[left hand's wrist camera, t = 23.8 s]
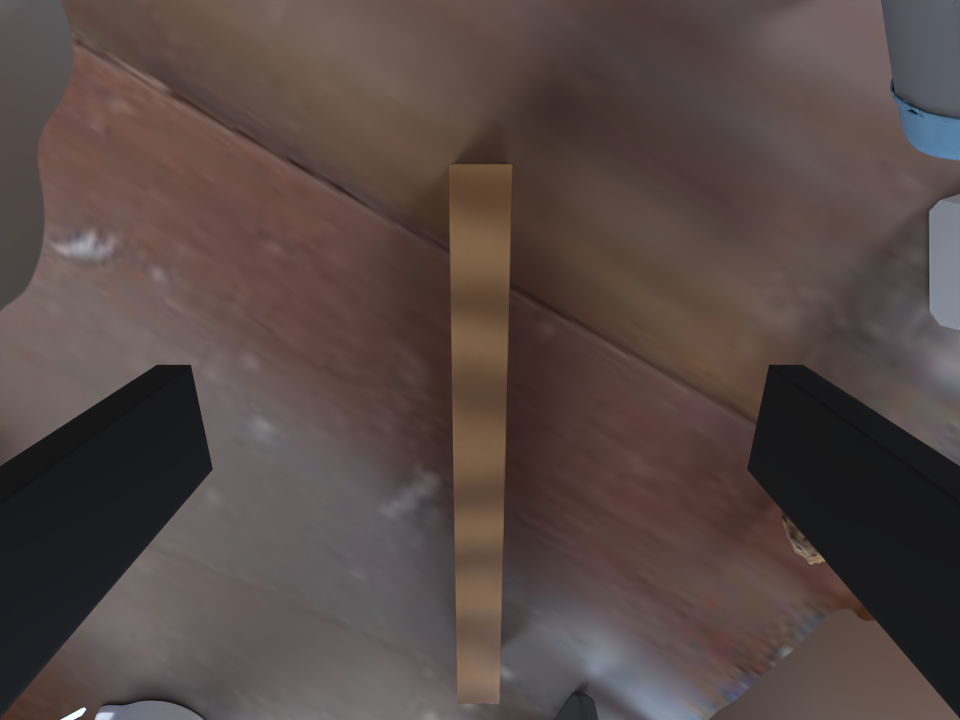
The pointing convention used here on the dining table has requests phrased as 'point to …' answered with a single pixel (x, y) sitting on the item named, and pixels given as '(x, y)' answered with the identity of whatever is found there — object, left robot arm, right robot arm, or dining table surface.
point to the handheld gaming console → (578, 708)
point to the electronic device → (945, 262)
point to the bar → (479, 414)
